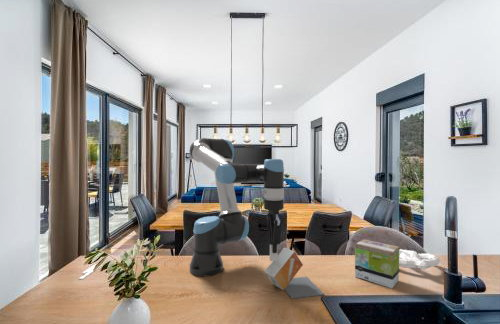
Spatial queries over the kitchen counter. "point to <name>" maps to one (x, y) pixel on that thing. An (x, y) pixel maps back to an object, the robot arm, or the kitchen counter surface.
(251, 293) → the kitchen counter surface
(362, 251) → the tea box
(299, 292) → the mat
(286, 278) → the small box
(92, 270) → the white plastic blade
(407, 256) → the white towel
